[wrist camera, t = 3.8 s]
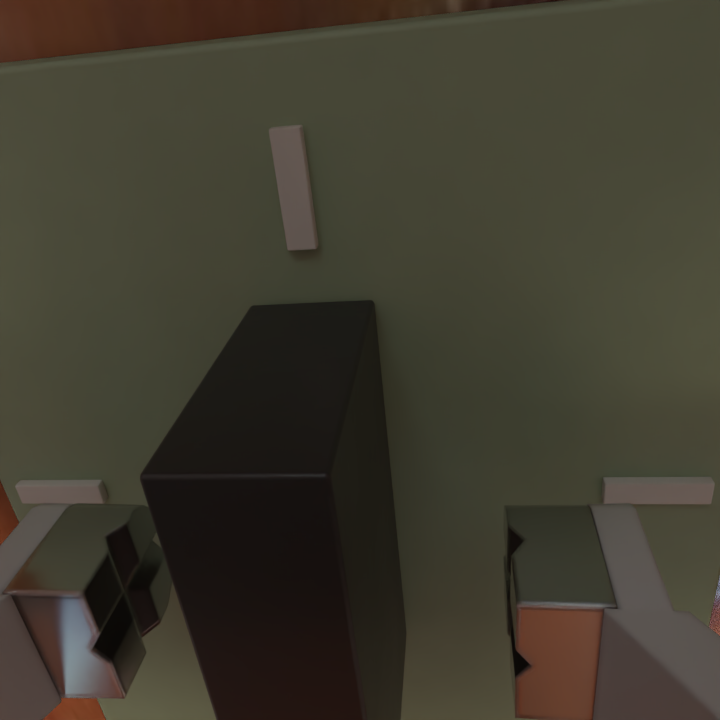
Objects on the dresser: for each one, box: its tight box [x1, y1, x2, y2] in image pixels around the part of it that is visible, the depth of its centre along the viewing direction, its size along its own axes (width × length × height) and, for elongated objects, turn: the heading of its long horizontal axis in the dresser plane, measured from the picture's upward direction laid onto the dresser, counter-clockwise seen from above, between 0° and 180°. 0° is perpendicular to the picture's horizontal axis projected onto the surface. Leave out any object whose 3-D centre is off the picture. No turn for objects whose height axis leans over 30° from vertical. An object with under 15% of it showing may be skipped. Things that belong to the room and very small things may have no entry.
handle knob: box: [140, 300, 407, 720], centre depth 8 cm, size 6×2×4 cm, turn 6°
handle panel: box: [0, 0, 720, 720], centre depth 11 cm, size 12×11×3 cm
